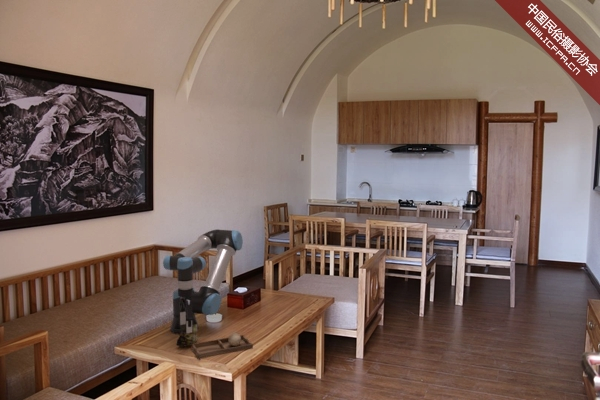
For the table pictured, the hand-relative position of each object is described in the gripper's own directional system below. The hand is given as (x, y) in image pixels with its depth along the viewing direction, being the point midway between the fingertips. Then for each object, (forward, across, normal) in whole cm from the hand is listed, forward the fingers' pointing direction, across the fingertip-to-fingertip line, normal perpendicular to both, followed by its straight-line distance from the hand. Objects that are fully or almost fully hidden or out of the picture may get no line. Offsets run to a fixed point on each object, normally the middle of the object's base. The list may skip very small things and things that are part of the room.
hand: (186, 328), depth 252 cm
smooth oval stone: (+8, +14, +22) cm, 27 cm away
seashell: (+9, 0, 0) cm, 9 cm away
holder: (+9, +14, +15) cm, 22 cm away
